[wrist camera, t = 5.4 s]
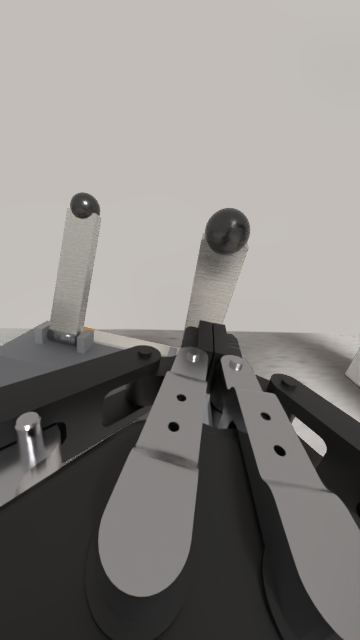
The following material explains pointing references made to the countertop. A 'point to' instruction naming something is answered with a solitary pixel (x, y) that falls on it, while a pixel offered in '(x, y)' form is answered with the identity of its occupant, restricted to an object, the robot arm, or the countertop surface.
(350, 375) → the medicine bottle
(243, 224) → the lever
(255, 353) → the countertop surface
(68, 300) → the lever
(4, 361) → the switch console
